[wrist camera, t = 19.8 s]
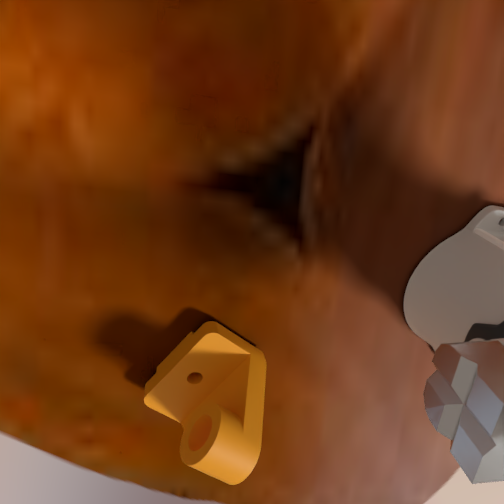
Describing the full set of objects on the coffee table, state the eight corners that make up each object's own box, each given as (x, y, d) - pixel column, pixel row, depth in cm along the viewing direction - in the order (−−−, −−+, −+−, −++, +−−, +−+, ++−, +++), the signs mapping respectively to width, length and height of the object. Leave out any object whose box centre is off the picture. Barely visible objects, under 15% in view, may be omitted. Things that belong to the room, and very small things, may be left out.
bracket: (208, 312, 45) (222, 403, 34) (261, 347, 48) (288, 439, 37) (141, 383, 47) (134, 487, 36) (195, 411, 50) (203, 515, 39)
